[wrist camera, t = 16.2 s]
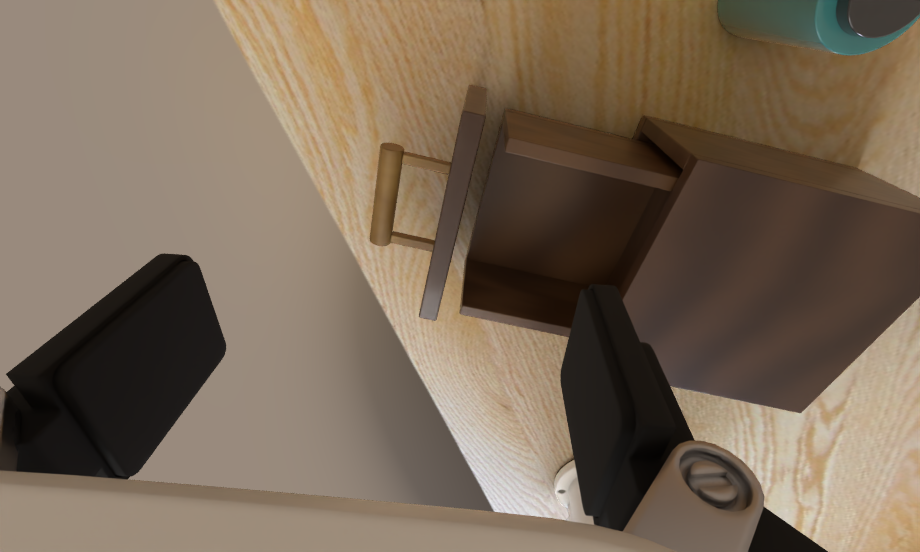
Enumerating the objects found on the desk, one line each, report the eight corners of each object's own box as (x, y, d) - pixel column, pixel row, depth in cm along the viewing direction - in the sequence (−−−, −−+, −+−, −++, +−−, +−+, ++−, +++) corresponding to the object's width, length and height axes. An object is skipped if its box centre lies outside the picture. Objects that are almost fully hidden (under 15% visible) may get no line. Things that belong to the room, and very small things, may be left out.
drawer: (379, 249, 35) (354, 304, 28) (402, 67, 27) (376, 89, 21) (602, 298, 36) (625, 361, 30) (684, 137, 28) (737, 177, 22)
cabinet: (565, 289, 37) (585, 368, 29) (642, 114, 29) (698, 159, 21) (737, 327, 38) (800, 413, 30) (858, 168, 30) (988, 230, 22)
